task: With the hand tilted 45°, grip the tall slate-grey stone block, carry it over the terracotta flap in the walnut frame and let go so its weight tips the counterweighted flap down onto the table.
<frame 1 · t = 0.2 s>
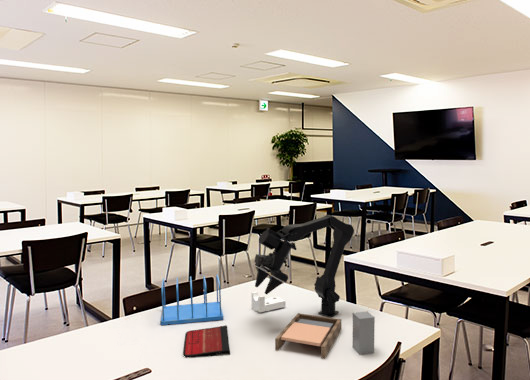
hand: (260, 290, 168), 15 cm above the table, tool tilted 35°, fingers open, 9 cm apart
file sorter: (192, 315, 183), on the table
flap frame: (312, 336, 161), on the table
binder: (206, 344, 156), on the table
stone block: (363, 350, 149), on the table
flap: (308, 333, 157), point 3 cm above the table, hinge at 0.0°
bracket: (268, 309, 189), on the table
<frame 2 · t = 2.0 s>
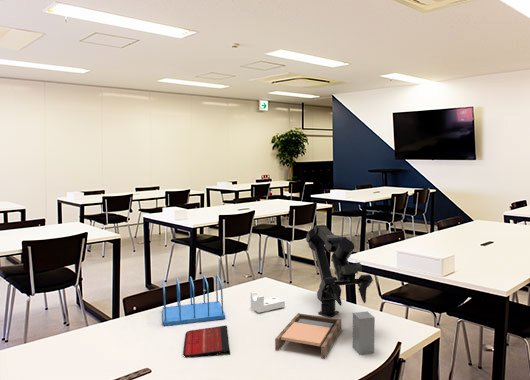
hand: (353, 303, 156), 14 cm above the table, tool tilted 45°, fingers open, 9 cm apart
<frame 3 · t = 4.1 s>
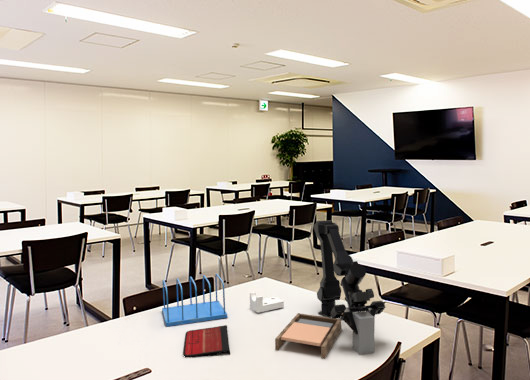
hand: (365, 333, 147), 7 cm above the table, tool tilted 45°, fingers closed on stone block, 5 cm apart
stone block: (363, 349, 149), on the table, touching gripper
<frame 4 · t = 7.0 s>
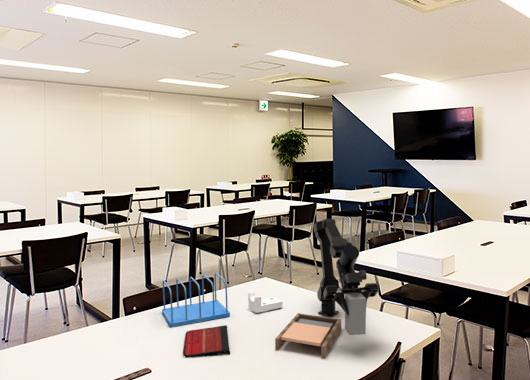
hand: (356, 314, 146), 13 cm above the table, tool tilted 45°, fingers closed on stone block, 5 cm apart
stone block: (355, 331, 148), point 7 cm above the table, touching gripper
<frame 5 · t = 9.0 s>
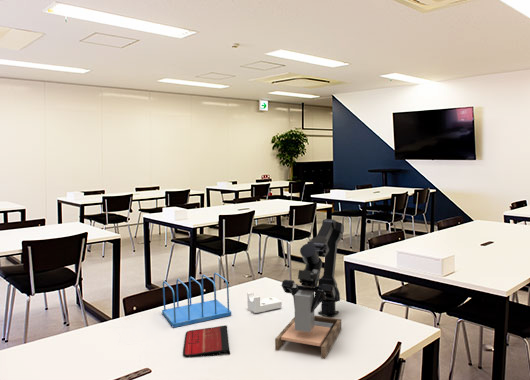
hand: (303, 311, 150), 13 cm above the table, tool tilted 45°, fingers closed on stone block, 5 cm apart
stone block: (304, 327, 152), point 7 cm above the table, touching gripper
when the fingers open (13 cm above the table, at t = 10.0 s): stone block drops 5 cm, resting on flap.
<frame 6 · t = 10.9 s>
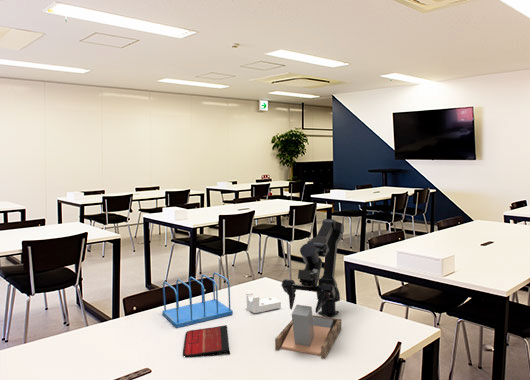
hand: (303, 310, 150), 14 cm above the table, tool tilted 45°, fingers open, 9 cm apart
stone block: (304, 340, 152), point 2 cm above the table, tilted 15°, touching flap
flap: (309, 335, 157), point 2 cm above the table, hinge at -14.6°, touching stone block
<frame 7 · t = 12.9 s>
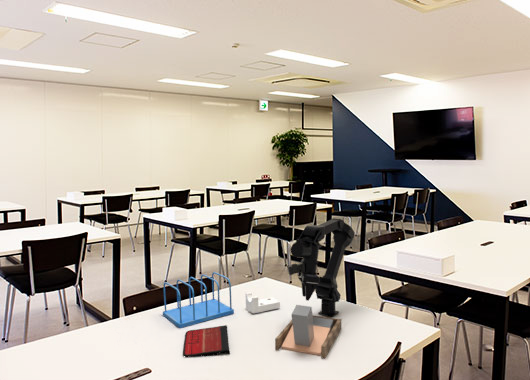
hand: (305, 298, 168), 12 cm above the table, tool pointing down, fingers open, 9 cm apart
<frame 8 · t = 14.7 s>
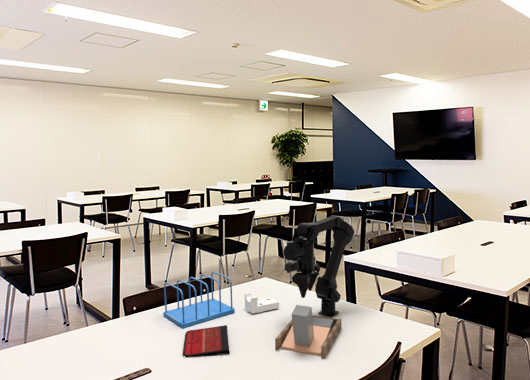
hand: (306, 294, 171), 12 cm above the table, tool pointing down, fingers open, 9 cm apart
flap: (309, 335, 157), point 2 cm above the table, hinge at -14.5°, touching stone block
at the end: flap at -14° (first picture: +0°); stone block touching flap; the gripper is holding nothing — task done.
